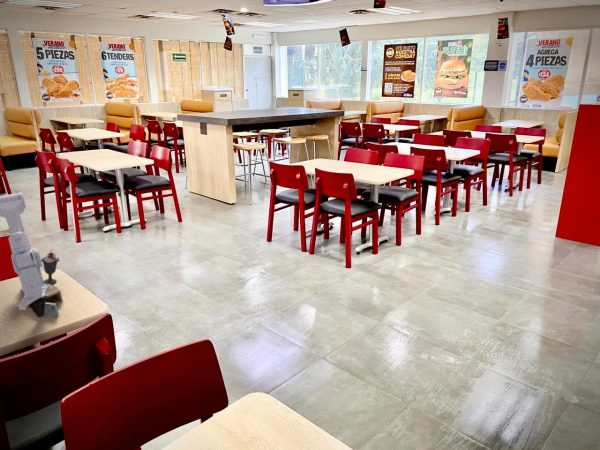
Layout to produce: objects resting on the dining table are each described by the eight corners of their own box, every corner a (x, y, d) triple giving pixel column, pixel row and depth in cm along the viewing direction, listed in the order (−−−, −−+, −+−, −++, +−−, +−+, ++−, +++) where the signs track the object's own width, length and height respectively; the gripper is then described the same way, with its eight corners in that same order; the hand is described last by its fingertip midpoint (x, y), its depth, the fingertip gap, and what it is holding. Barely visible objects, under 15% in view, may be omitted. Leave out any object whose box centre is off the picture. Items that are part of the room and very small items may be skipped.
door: (39, 311, 170) (36, 301, 169) (59, 314, 168) (56, 303, 167) (36, 314, 169) (33, 303, 167) (56, 316, 167) (53, 305, 165)
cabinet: (29, 304, 176) (25, 293, 174) (52, 294, 183) (49, 283, 181) (39, 312, 171) (35, 300, 169) (62, 301, 177) (59, 290, 175)
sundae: (48, 286, 188) (49, 253, 184) (37, 281, 190) (37, 248, 186) (62, 281, 194) (63, 249, 190) (51, 276, 196) (51, 244, 192)
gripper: (27, 294, 153) (38, 328, 158) (54, 273, 166) (62, 305, 171) (8, 293, 154) (19, 327, 159) (36, 273, 167) (45, 305, 172)
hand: (40, 316), depth 165 cm, fingers closed
